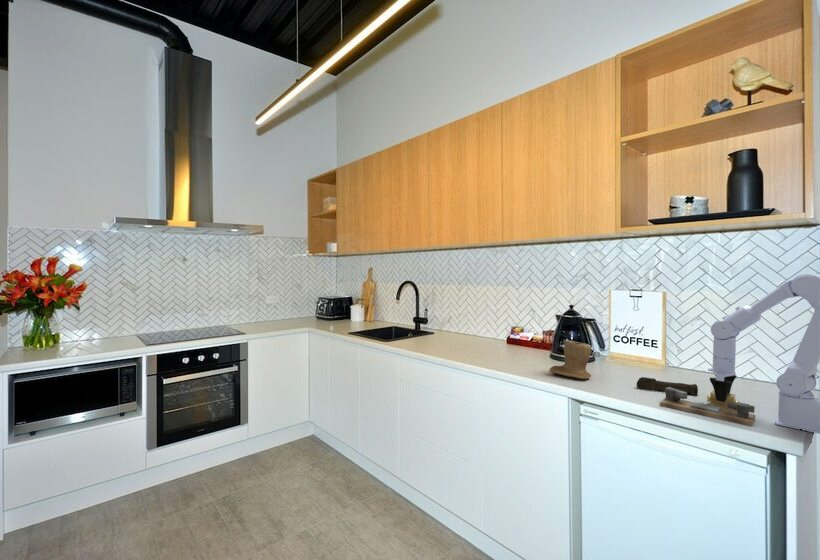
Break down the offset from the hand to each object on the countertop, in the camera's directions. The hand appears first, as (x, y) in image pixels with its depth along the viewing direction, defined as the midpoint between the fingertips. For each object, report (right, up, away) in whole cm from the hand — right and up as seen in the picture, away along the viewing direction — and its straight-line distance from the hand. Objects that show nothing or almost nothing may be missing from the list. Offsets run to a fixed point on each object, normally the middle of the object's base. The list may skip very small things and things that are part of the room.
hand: (722, 398), depth 127 cm
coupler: (0, -3, 0) cm, 3 cm away
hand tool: (-8, -3, +16) cm, 18 cm away
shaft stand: (-9, -3, -5) cm, 11 cm away
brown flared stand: (-34, -2, +36) cm, 50 cm away
